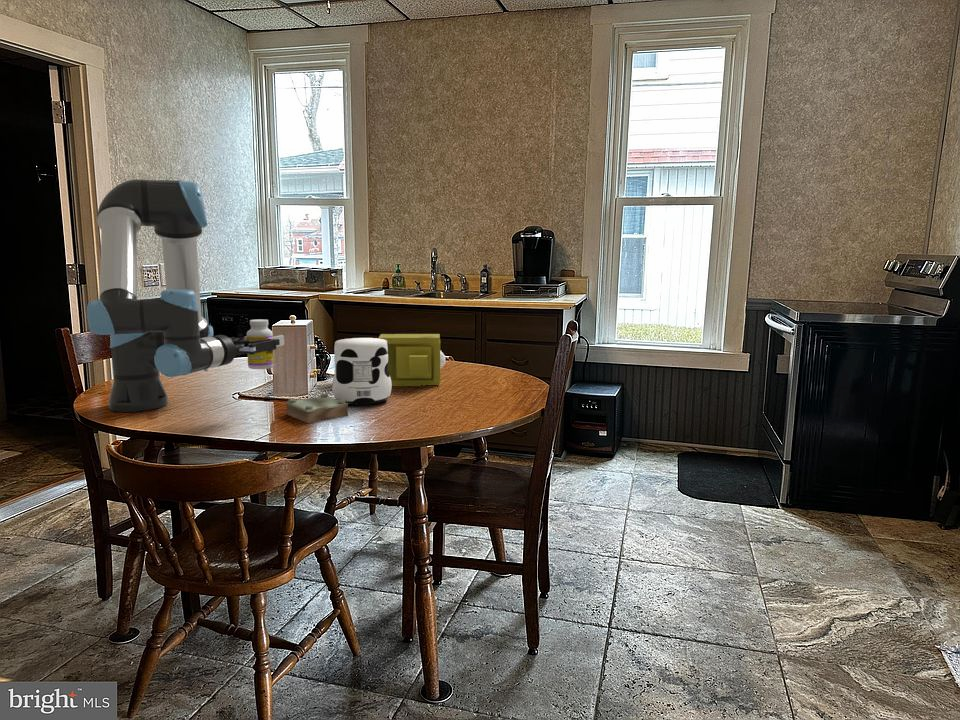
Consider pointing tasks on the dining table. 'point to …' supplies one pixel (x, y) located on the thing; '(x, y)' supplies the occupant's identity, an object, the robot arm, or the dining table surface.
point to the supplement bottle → (260, 333)
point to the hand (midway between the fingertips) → (271, 339)
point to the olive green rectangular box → (414, 359)
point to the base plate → (317, 408)
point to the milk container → (361, 371)
